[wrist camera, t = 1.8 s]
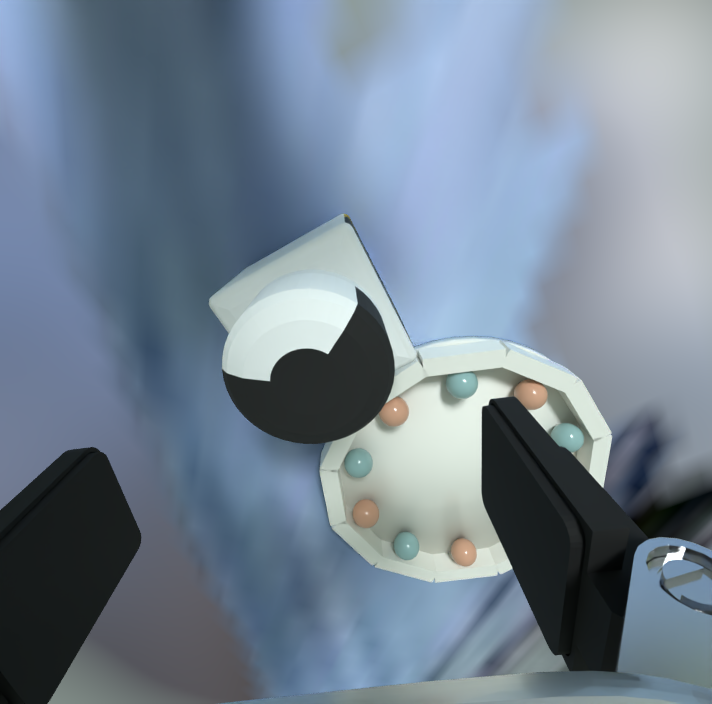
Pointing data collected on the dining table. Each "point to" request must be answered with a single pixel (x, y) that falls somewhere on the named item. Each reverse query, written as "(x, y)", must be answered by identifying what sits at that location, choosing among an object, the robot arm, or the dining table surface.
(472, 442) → the tray
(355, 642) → the dining table surface
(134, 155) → the dining table surface
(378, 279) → the medicine bottle
